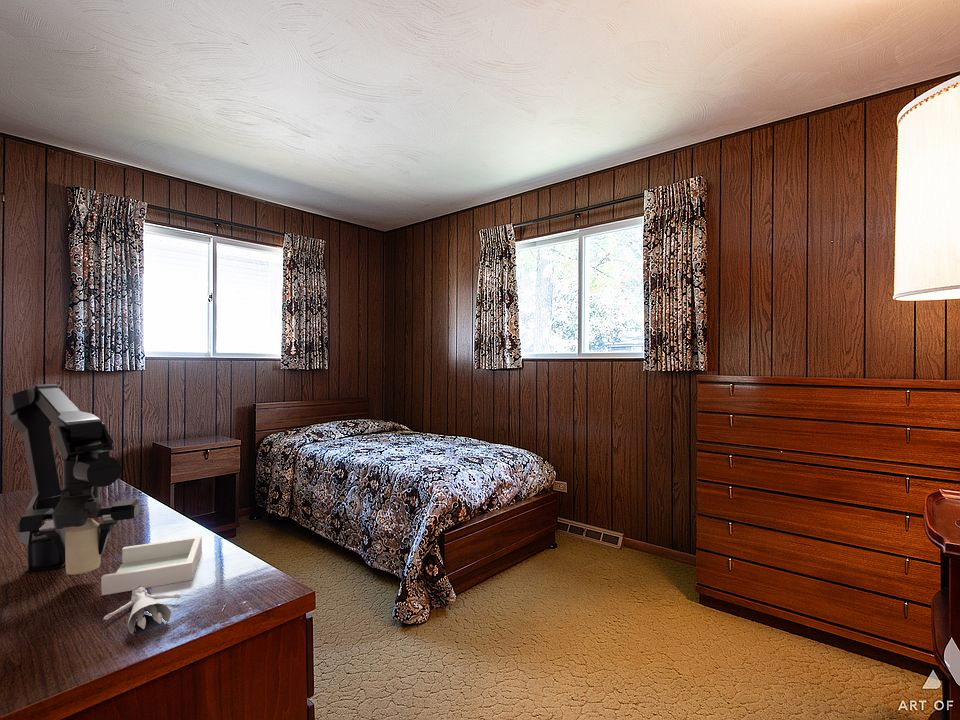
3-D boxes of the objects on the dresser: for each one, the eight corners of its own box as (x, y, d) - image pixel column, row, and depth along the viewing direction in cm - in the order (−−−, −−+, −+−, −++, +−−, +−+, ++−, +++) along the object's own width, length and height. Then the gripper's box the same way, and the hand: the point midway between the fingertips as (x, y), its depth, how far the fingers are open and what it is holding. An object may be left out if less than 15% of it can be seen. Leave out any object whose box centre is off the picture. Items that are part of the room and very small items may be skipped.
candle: (60, 571, 98) (59, 522, 98) (92, 561, 103) (91, 514, 103) (73, 577, 96) (72, 526, 96) (106, 566, 101) (104, 518, 101)
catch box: (101, 595, 94) (101, 577, 94) (124, 562, 109) (123, 547, 109) (192, 579, 100) (192, 562, 100) (201, 550, 115) (201, 536, 115)
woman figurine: (107, 622, 76) (99, 590, 90) (108, 652, 76) (100, 614, 90) (192, 597, 84) (173, 570, 98) (193, 623, 84) (174, 593, 97)
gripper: (1, 496, 88) (4, 582, 88) (126, 484, 96) (128, 563, 96) (29, 482, 98) (30, 559, 99) (139, 472, 106) (141, 543, 106)
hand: (83, 556), depth 100 cm, fingers closed on candle, 5 cm apart
